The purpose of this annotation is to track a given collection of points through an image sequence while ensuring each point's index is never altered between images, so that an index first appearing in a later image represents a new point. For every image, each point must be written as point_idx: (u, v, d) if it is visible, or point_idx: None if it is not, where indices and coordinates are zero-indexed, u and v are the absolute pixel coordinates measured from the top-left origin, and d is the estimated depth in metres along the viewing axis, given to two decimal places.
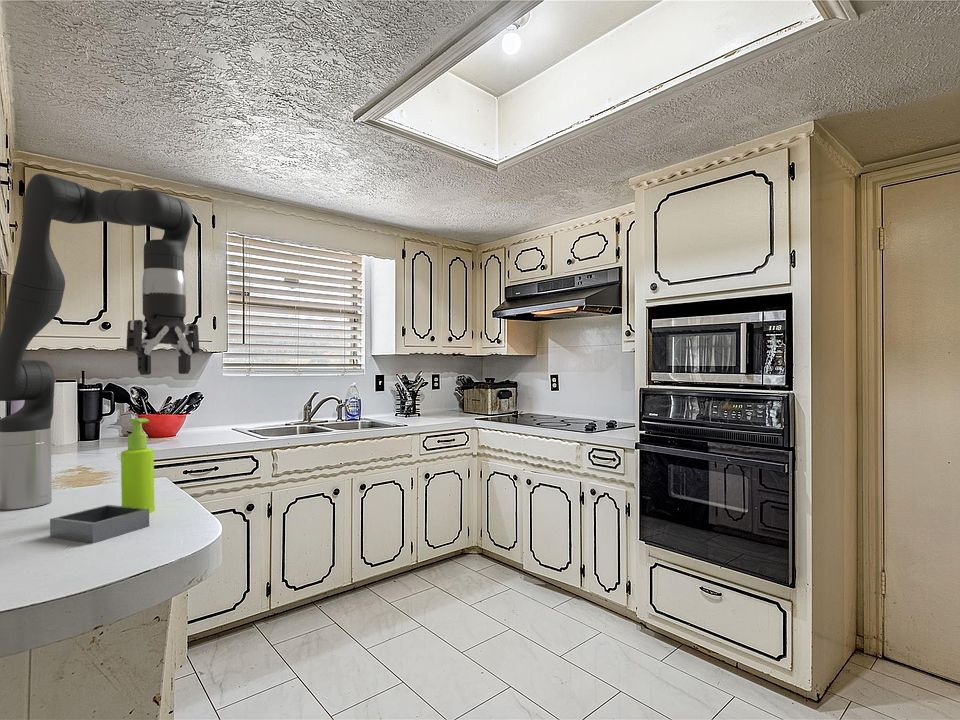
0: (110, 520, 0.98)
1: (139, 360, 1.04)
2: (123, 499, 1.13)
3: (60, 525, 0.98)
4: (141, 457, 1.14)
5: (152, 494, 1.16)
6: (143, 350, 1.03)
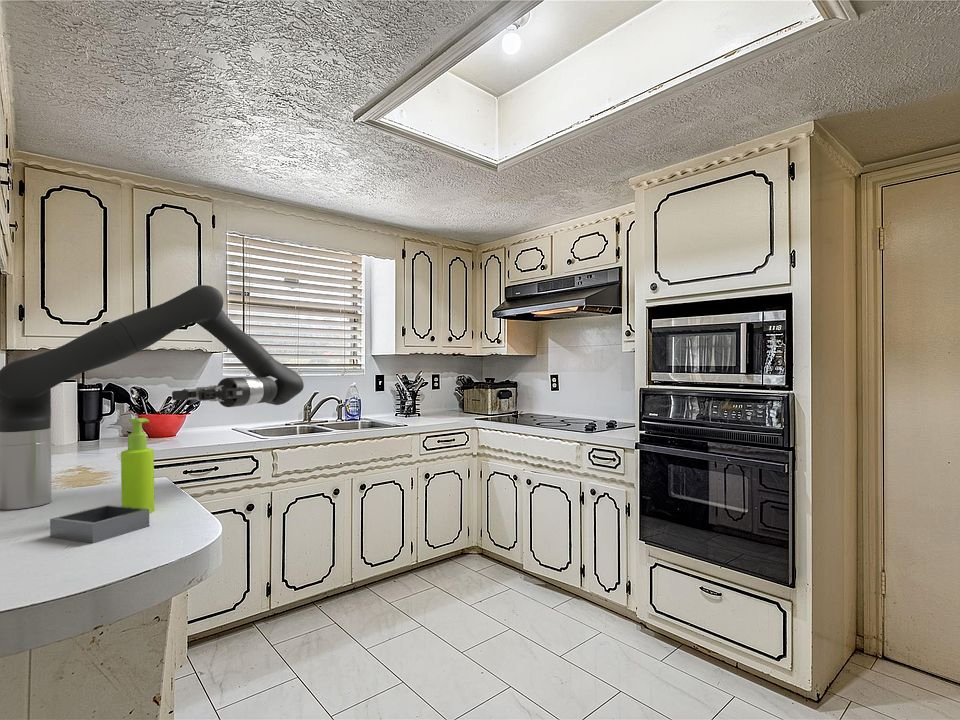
0: (110, 520, 0.98)
1: (212, 393, 1.27)
2: (123, 499, 1.13)
3: (60, 525, 0.98)
4: (141, 457, 1.14)
5: (152, 494, 1.16)
6: (219, 398, 1.29)
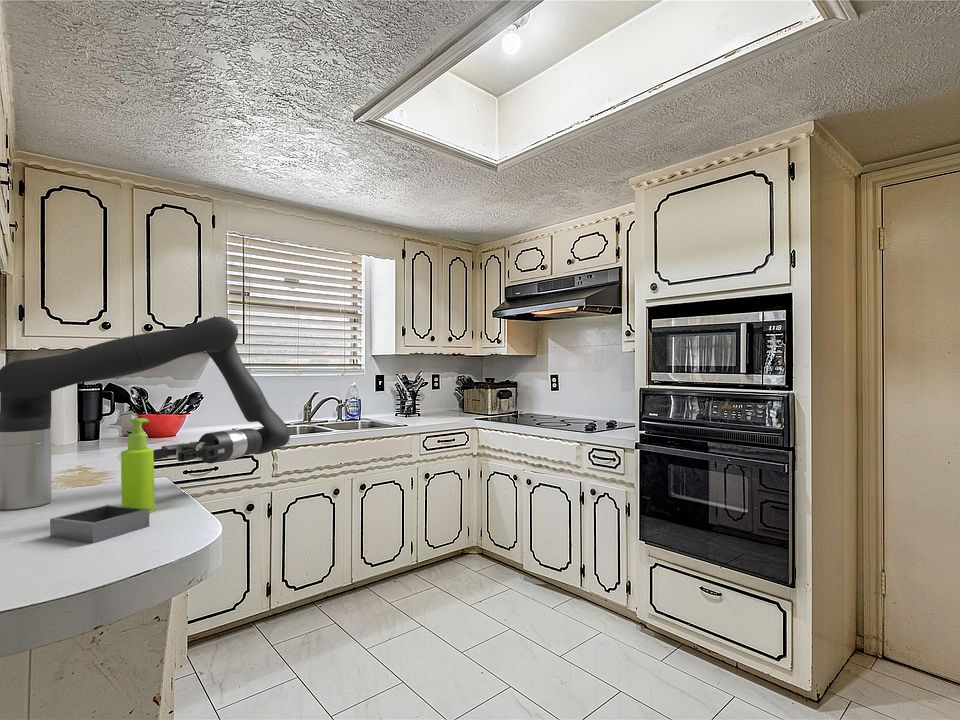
0: (110, 520, 0.98)
1: (192, 454, 1.22)
2: (123, 499, 1.13)
3: (60, 525, 0.98)
4: (141, 457, 1.14)
5: (152, 494, 1.16)
6: (200, 457, 1.24)
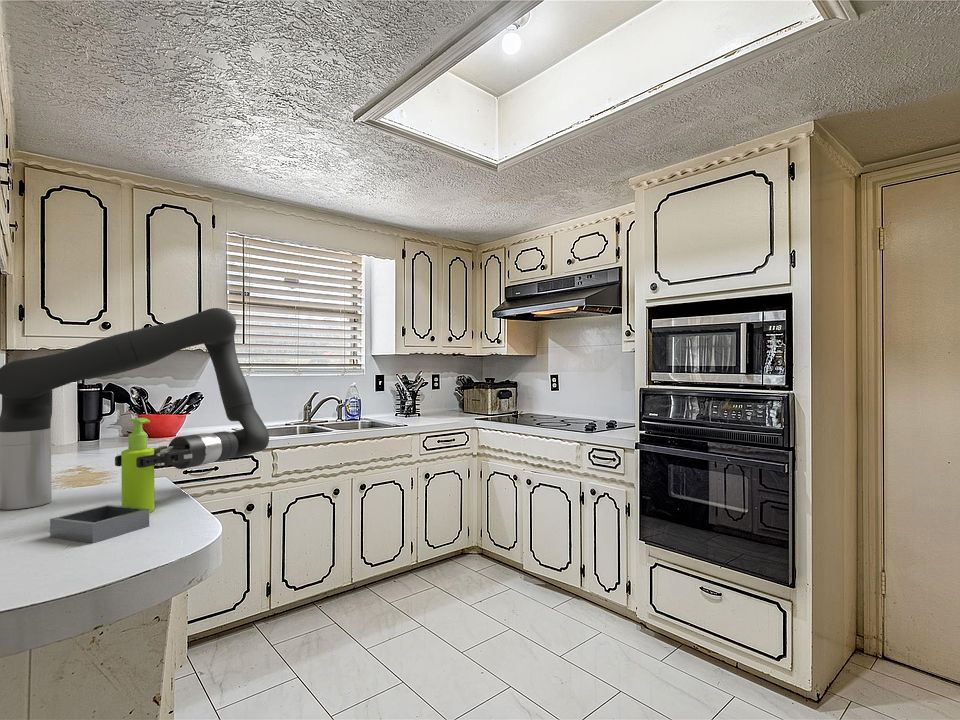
0: (110, 520, 0.98)
1: (153, 459, 1.14)
2: (123, 499, 1.13)
3: (60, 525, 0.98)
4: None
5: (152, 494, 1.16)
6: (161, 463, 1.16)
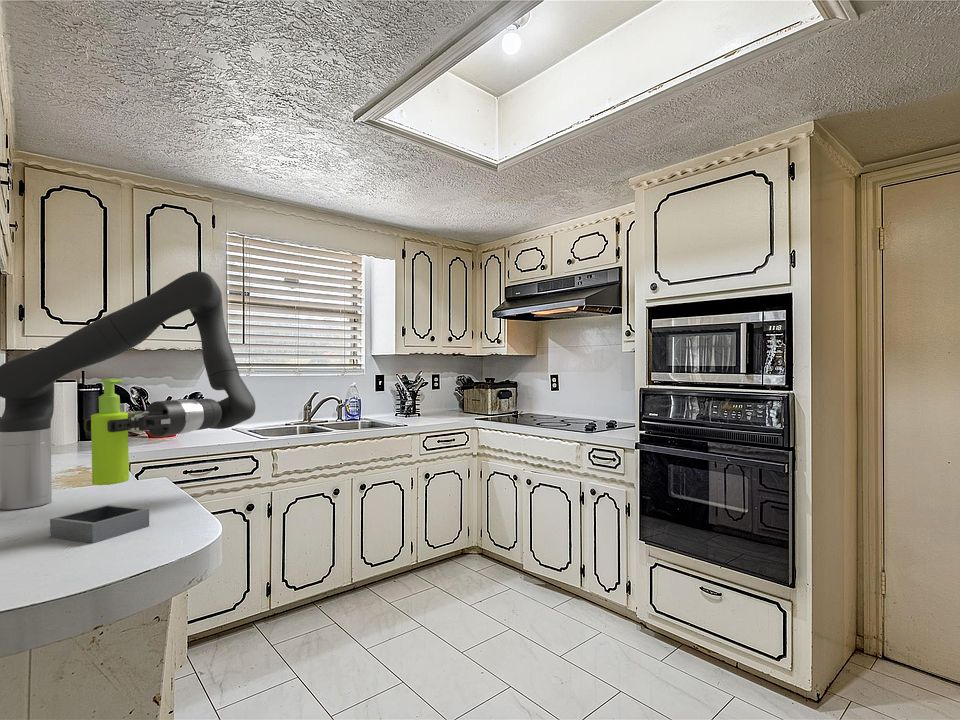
0: (110, 520, 0.98)
1: (126, 423, 1.04)
2: (93, 467, 1.02)
3: (60, 525, 0.98)
4: None
5: (126, 462, 1.05)
6: (136, 428, 1.05)
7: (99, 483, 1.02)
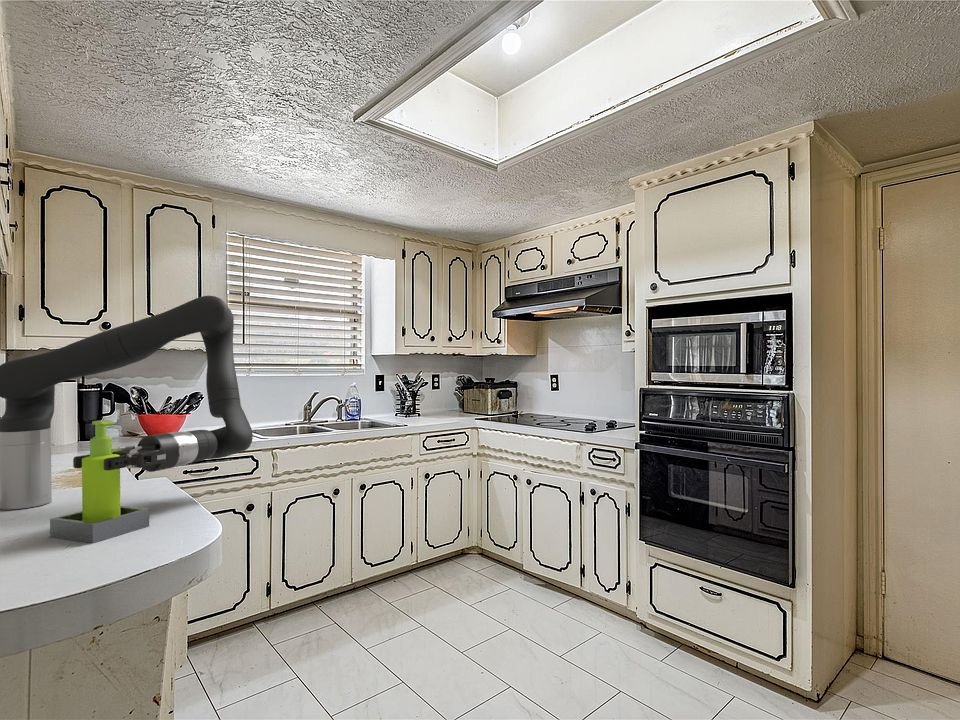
0: (110, 520, 0.98)
1: (123, 461, 1.01)
2: (84, 512, 1.00)
3: (60, 525, 0.98)
4: None
5: (117, 506, 1.02)
6: (133, 465, 1.03)
7: None
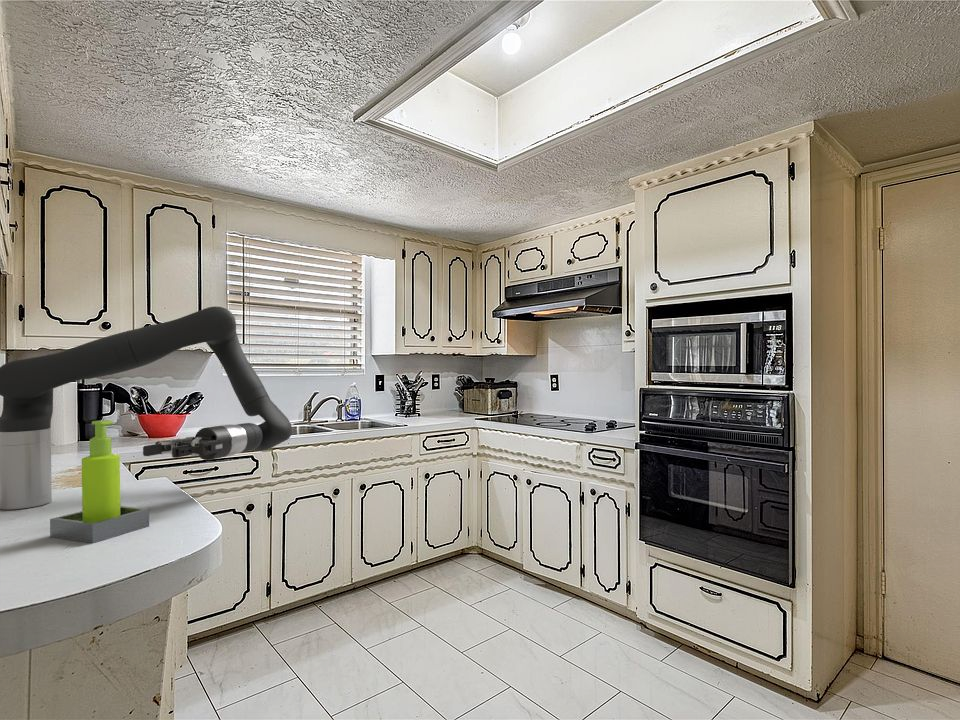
0: (110, 520, 0.98)
1: (188, 449, 1.14)
2: (84, 512, 1.00)
3: (60, 525, 0.98)
4: (104, 464, 1.00)
5: (117, 506, 1.02)
6: (196, 453, 1.15)
7: None
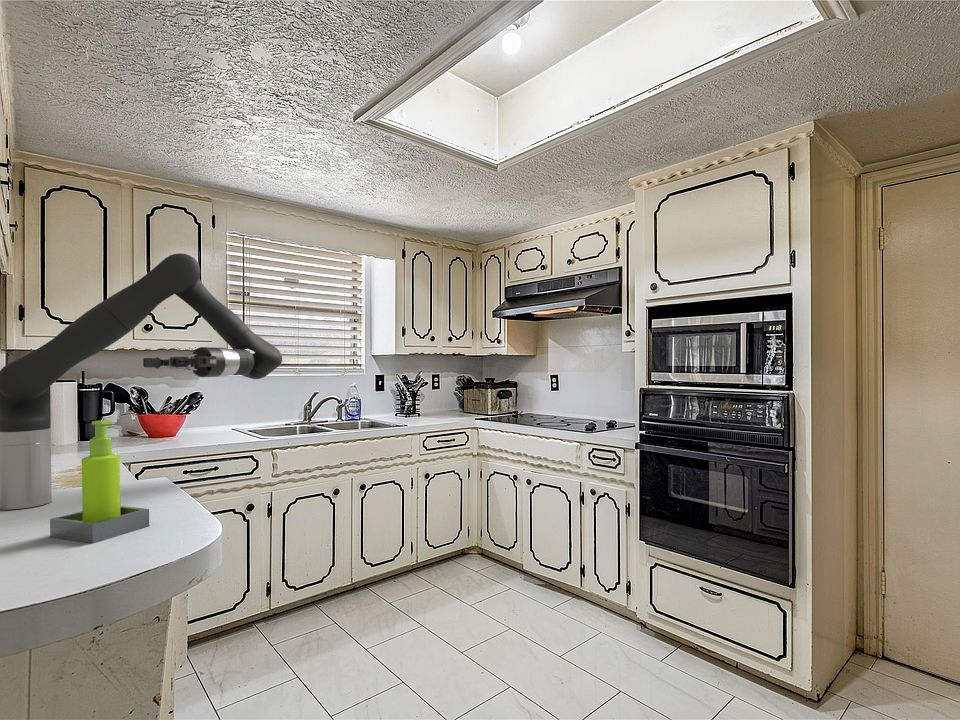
0: (110, 520, 0.98)
1: (184, 360, 1.24)
2: (84, 512, 1.00)
3: (60, 525, 0.98)
4: (104, 464, 1.00)
5: (117, 506, 1.02)
6: (192, 365, 1.26)
7: None
